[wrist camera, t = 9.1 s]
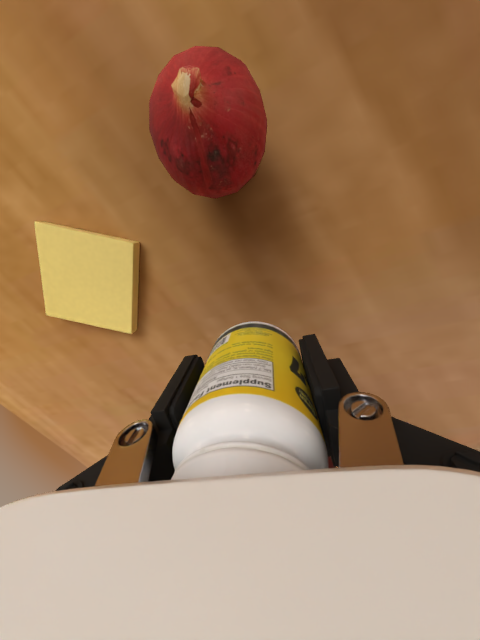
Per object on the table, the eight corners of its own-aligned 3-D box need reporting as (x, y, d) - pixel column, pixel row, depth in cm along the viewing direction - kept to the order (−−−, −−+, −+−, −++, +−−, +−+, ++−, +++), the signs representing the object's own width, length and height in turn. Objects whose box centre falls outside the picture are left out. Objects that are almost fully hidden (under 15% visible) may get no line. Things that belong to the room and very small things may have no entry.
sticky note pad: (55, 311, 21) (45, 315, 20) (45, 221, 18) (33, 221, 17) (137, 329, 21) (131, 334, 20) (140, 242, 18) (133, 242, 17)
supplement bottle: (303, 393, 13) (359, 632, 5) (221, 399, 14) (166, 617, 6) (296, 312, 12) (361, 490, 4) (203, 324, 12) (96, 493, 4)
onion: (274, 188, 16) (284, 156, 9) (196, 213, 17) (144, 204, 10) (253, 82, 14) (241, -78, 7) (166, 117, 15) (72, 14, 8)
